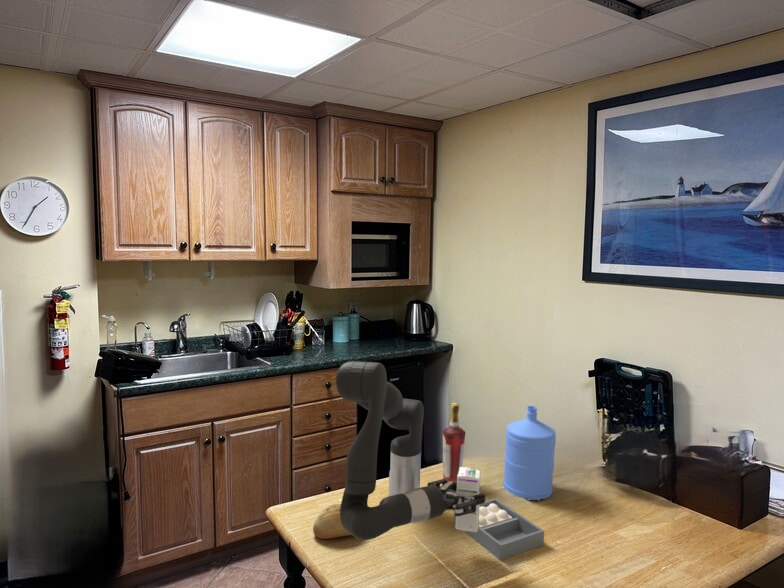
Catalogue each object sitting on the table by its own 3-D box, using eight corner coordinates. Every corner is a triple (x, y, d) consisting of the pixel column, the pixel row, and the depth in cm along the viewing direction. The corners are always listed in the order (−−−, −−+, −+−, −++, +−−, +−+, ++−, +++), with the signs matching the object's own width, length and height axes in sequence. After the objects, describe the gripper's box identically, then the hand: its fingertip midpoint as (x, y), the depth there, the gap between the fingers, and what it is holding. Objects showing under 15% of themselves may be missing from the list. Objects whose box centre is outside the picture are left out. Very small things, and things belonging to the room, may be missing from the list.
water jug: (558, 502, 173) (563, 416, 170) (508, 501, 173) (512, 415, 170) (545, 479, 189) (550, 400, 185) (499, 478, 189) (503, 399, 185)
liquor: (438, 481, 185) (441, 401, 182) (460, 481, 186) (463, 400, 183) (443, 492, 178) (446, 408, 175) (465, 491, 179) (469, 408, 175)
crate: (453, 526, 158) (454, 509, 158) (494, 513, 166) (495, 498, 165) (499, 563, 141) (500, 545, 140) (543, 548, 148) (544, 530, 148)
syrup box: (477, 533, 139) (480, 478, 137) (454, 529, 140) (457, 475, 139) (478, 521, 145) (482, 468, 143) (456, 518, 146) (459, 465, 144)
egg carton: (461, 523, 158) (462, 508, 157) (493, 514, 163) (494, 499, 163) (479, 537, 151) (480, 521, 150) (511, 527, 156) (512, 512, 156)
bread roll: (371, 539, 151) (371, 511, 150) (316, 548, 146) (317, 519, 145) (361, 521, 160) (362, 495, 159) (310, 529, 155) (310, 502, 154)
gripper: (437, 503, 128) (493, 488, 136) (406, 477, 140) (459, 465, 148) (436, 533, 129) (491, 517, 137) (405, 505, 141) (457, 492, 149)
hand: (474, 490), depth 142 cm, fingers closed on syrup box, 8 cm apart
